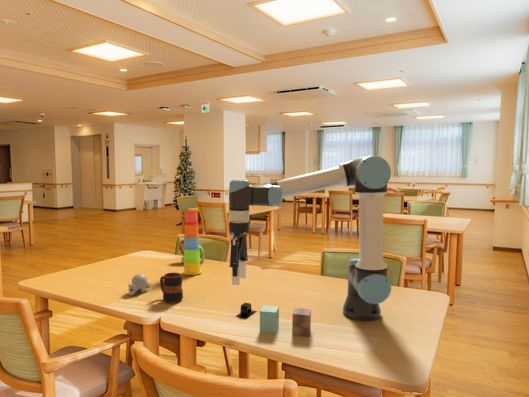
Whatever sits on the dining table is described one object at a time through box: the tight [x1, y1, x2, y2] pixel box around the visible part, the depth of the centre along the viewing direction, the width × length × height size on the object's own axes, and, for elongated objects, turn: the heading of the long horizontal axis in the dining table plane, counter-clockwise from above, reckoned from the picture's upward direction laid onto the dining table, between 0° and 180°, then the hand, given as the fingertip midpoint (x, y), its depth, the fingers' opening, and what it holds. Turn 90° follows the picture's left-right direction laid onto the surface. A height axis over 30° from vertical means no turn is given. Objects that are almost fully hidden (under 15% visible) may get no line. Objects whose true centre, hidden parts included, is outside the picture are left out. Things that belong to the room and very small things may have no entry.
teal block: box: [259, 305, 280, 335], centre depth 148 cm, size 6×6×8 cm
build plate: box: [234, 302, 258, 320], centre depth 163 cm, size 12×7×5 cm, turn 156°
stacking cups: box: [182, 210, 202, 276], centre depth 222 cm, size 10×10×35 cm
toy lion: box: [178, 239, 206, 264], centre depth 247 cm, size 16×5×15 cm, turn 80°
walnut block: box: [291, 307, 312, 338], centre depth 145 cm, size 6×6×8 cm
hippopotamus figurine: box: [127, 273, 151, 297], centre depth 188 cm, size 7×12×8 cm, turn 155°
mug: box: [159, 272, 184, 304], centre depth 179 cm, size 9×12×12 cm
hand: (239, 281), depth 150 cm, fingers open, 8 cm apart
